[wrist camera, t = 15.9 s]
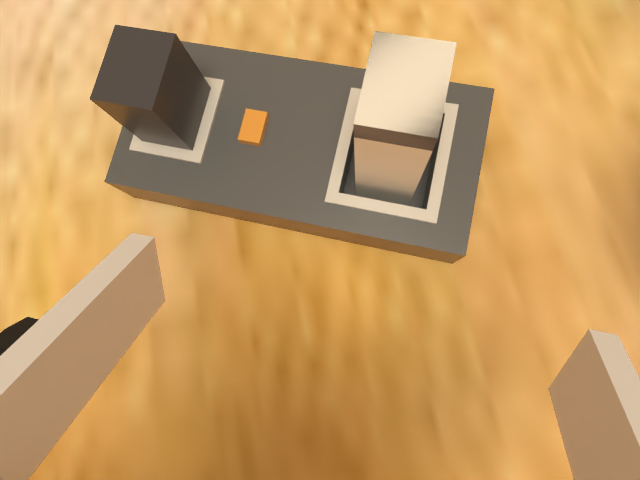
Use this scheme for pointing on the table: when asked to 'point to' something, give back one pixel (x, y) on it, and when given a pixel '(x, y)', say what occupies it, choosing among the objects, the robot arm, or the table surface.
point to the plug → (399, 114)
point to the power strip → (278, 143)
